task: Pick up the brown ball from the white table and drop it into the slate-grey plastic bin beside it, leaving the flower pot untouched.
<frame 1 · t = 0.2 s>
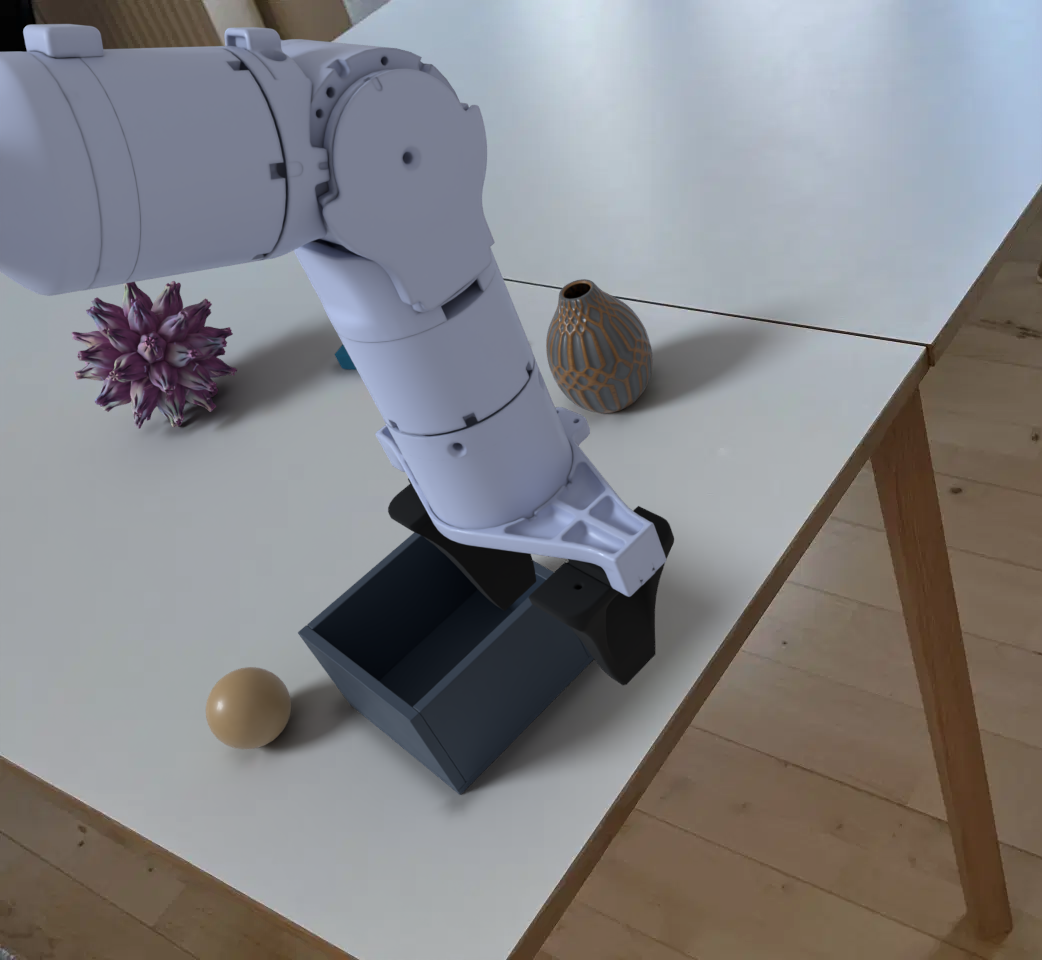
hand: (572, 627, 48), 10 cm above the table, tool pointing down, fingers open, 7 cm apart
brown ball: (268, 730, 62), on the table
popsicle: (430, 357, 86), on the table
flower: (194, 411, 90), on the table
vase: (615, 397, 76), on the table
bin: (472, 680, 60), on the table
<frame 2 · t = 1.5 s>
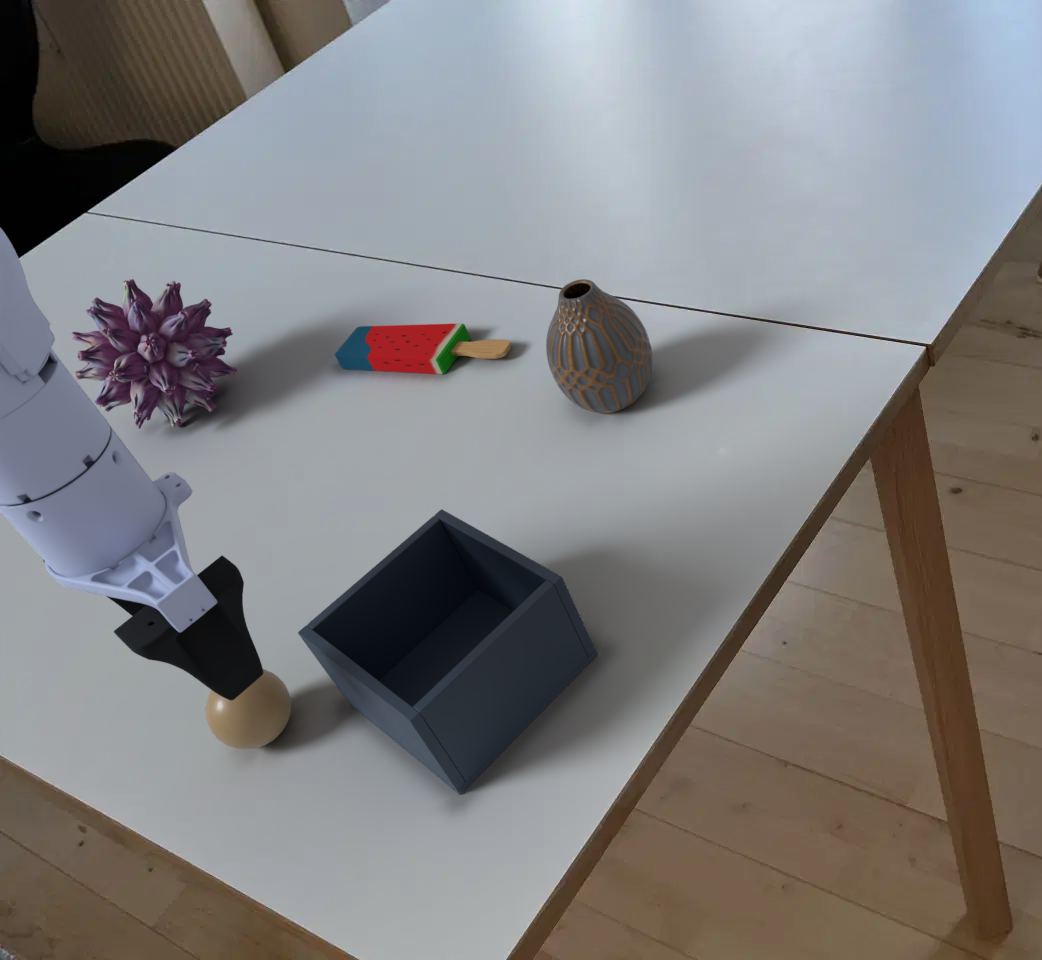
hand: (209, 651, 57), 7 cm above the table, tool pointing down, fingers open, 7 cm apart
nothing on the table moved.
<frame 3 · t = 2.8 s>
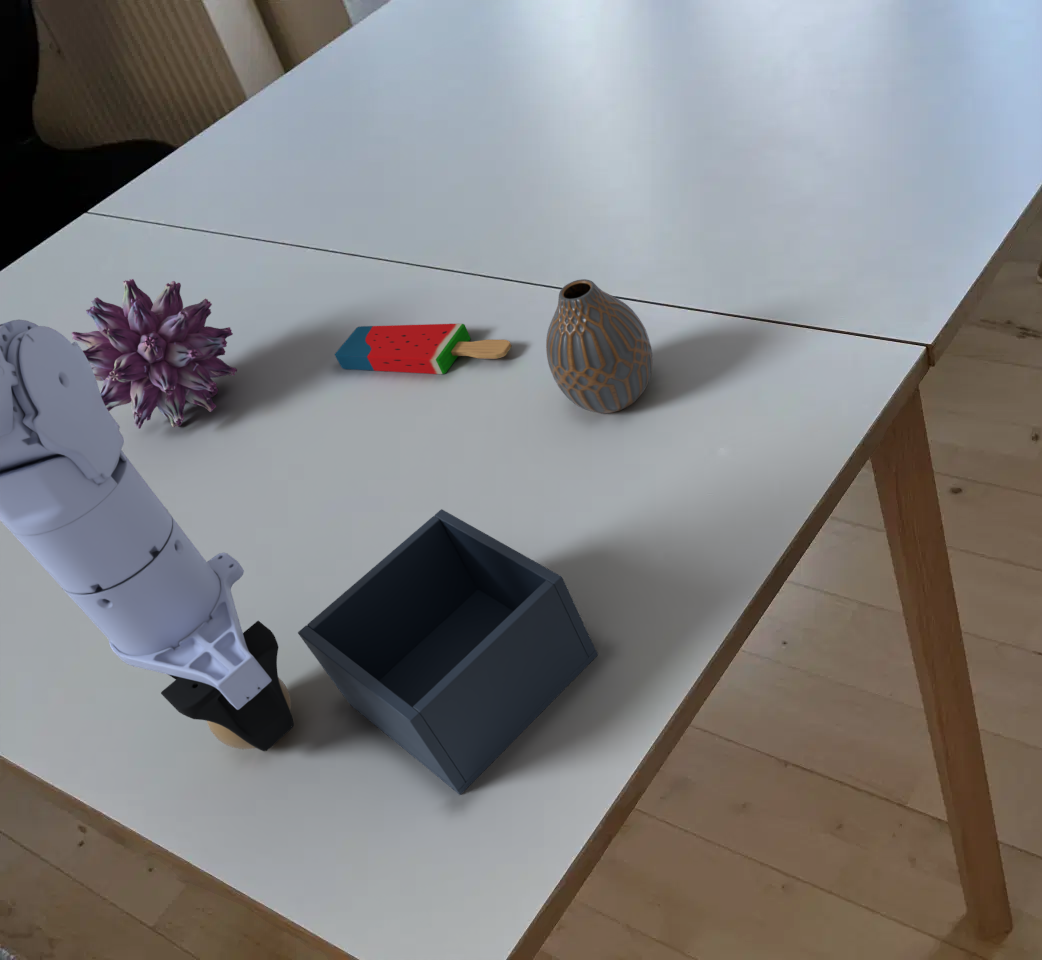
hand: (255, 716, 61), 1 cm above the table, tool pointing down, fingers closed on brown ball, 4 cm apart
brown ball: (267, 730, 62), on the table, touching gripper
everything else where it was.
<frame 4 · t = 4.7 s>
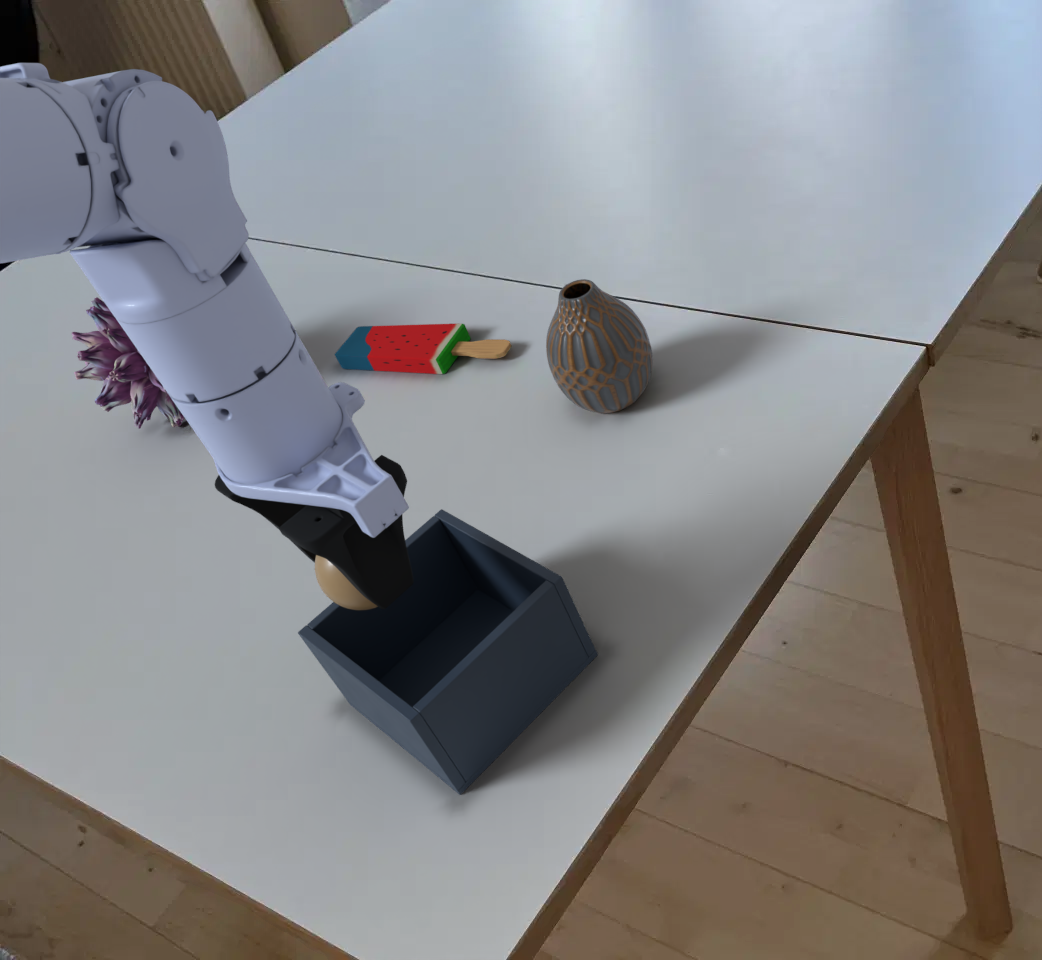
hand: (368, 575, 55), 9 cm above the table, tool pointing down, fingers closed on brown ball, 4 cm apart
brown ball: (379, 594, 56), point 8 cm above the table, touching gripper
everything else where it was.
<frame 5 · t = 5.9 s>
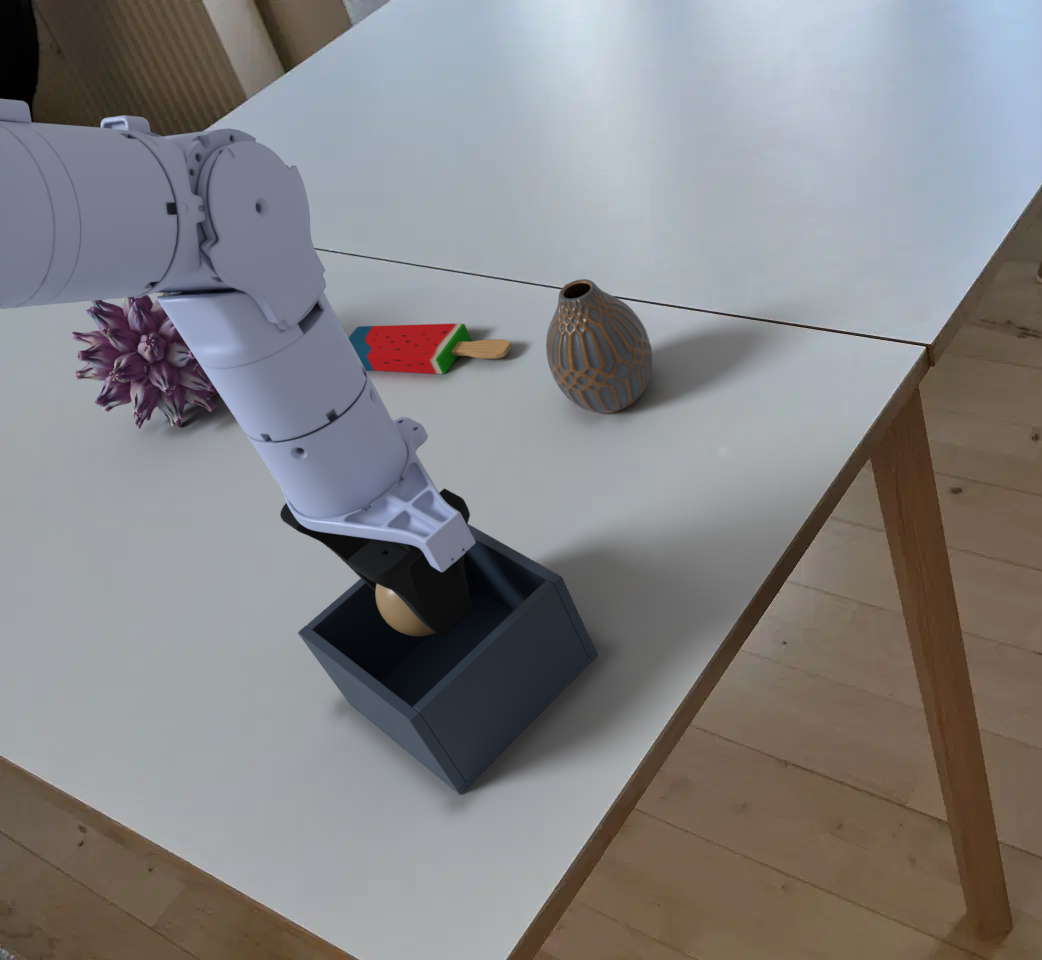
hand: (426, 602, 56), 7 cm above the table, tool pointing down, fingers closed on brown ball, 4 cm apart
brown ball: (436, 620, 57), point 5 cm above the table, touching gripper
everything else where it was.
when the fingers open (5 cm above the table, at t = 6.7 s): brown ball drops 4 cm, resting on bin.
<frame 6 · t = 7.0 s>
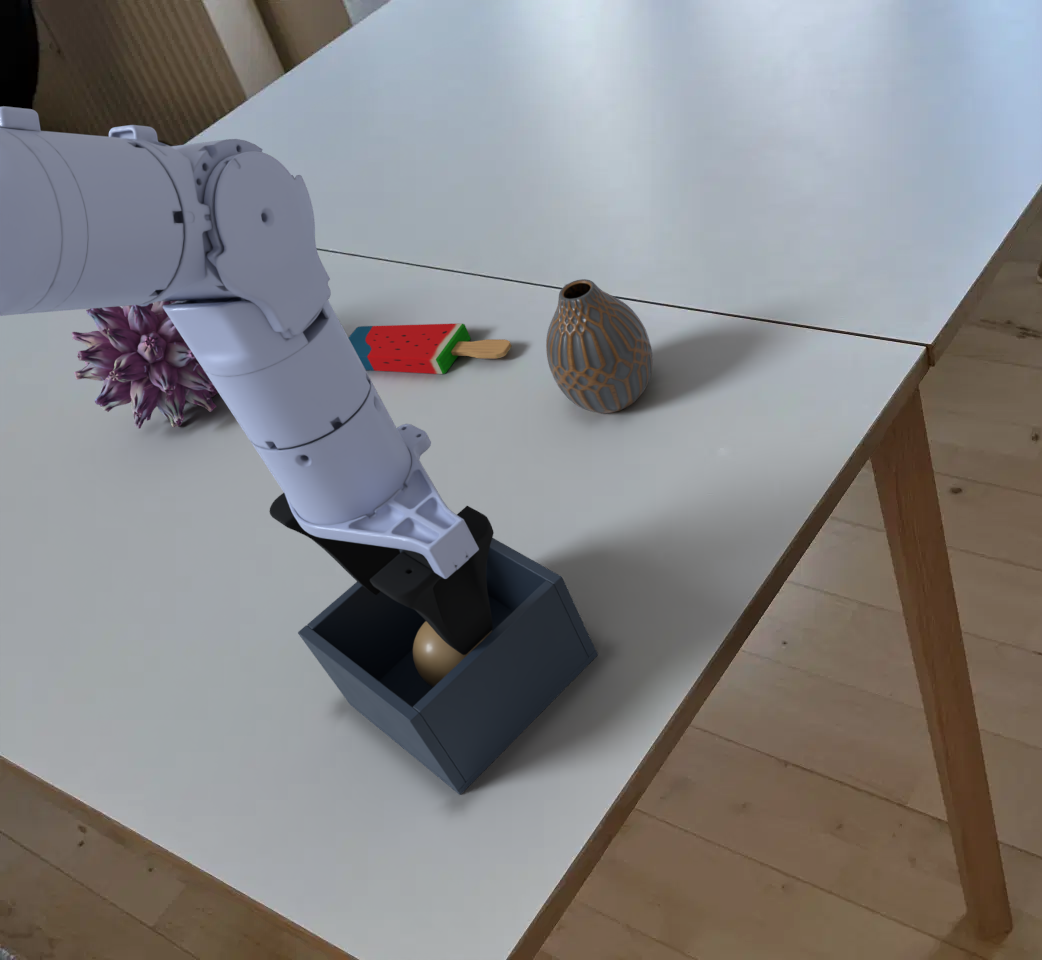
hand: (429, 608, 56), 6 cm above the table, tool pointing down, fingers open, 7 cm apart
brown ball: (469, 675, 60), resting on bin
everything else where it was.
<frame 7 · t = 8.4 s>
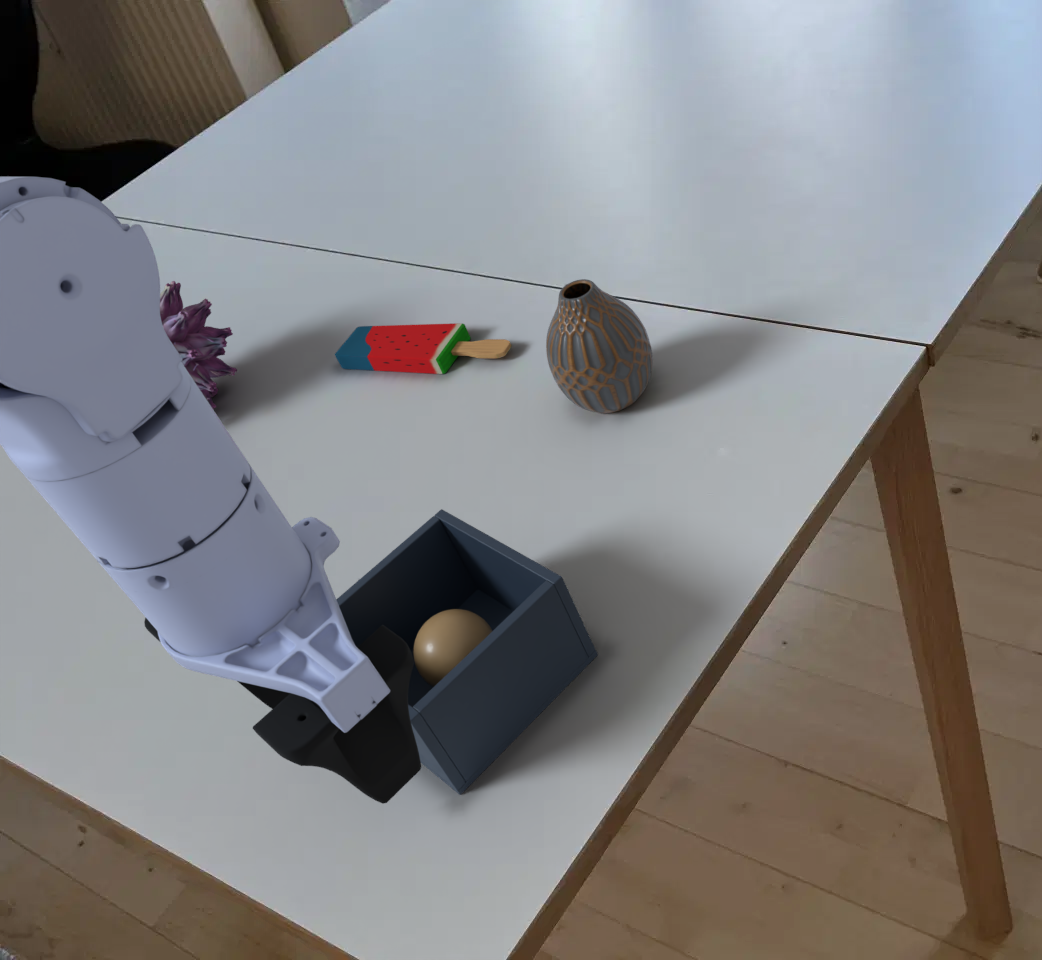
hand: (346, 736, 46), 10 cm above the table, tool pointing down, fingers open, 7 cm apart
nothing on the table moved.
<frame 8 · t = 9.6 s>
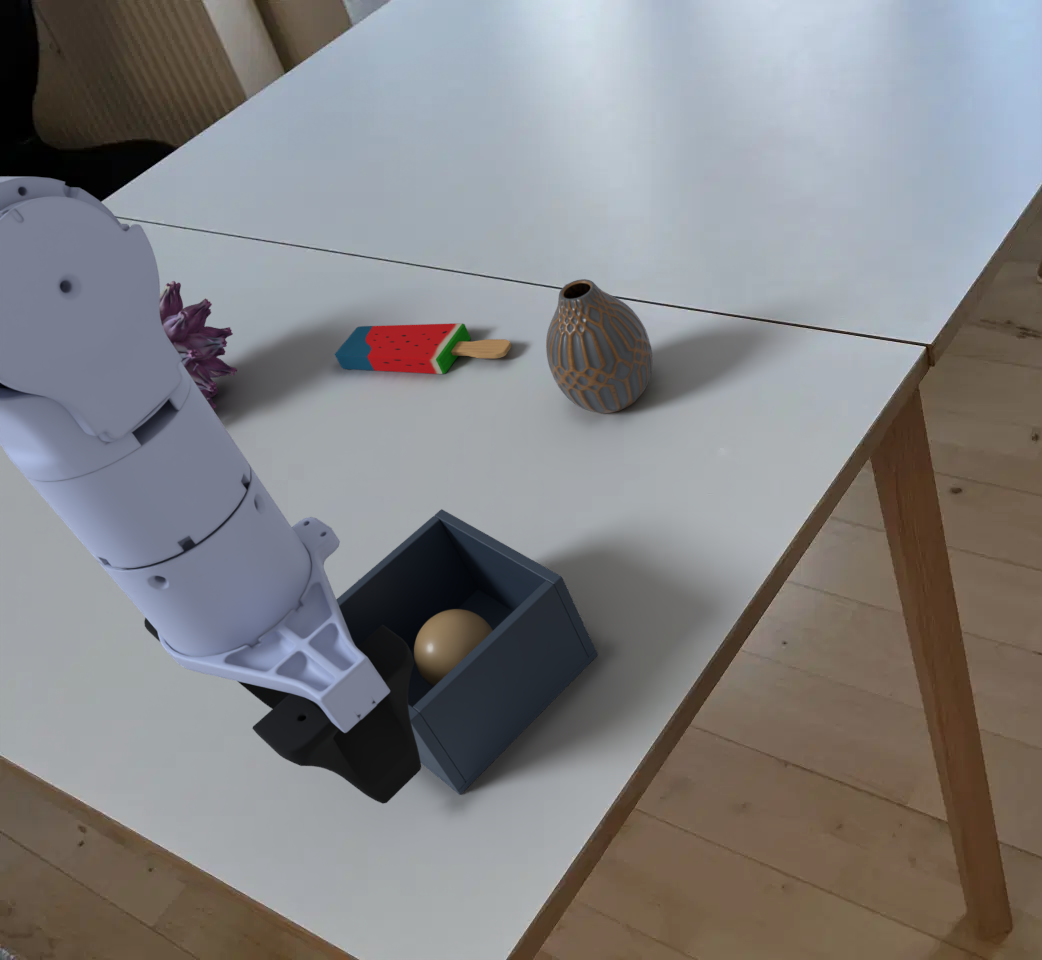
hand: (346, 736, 46), 10 cm above the table, tool pointing down, fingers open, 7 cm apart
nothing on the table moved.
at the end: brown ball inside the target area in the bin (0.0 cm from its centre), point 0.4 cm above the bin's base; the gripper is holding nothing; flower moved 0.2 cm from its start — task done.
